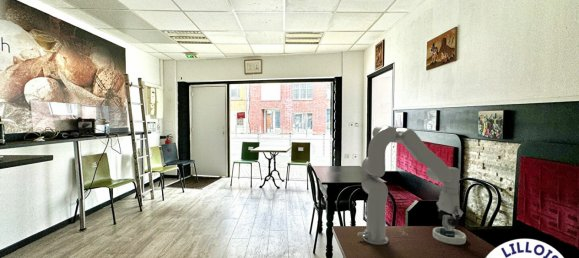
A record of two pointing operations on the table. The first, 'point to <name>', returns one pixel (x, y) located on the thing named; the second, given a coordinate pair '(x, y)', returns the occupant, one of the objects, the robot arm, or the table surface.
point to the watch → (447, 227)
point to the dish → (458, 240)
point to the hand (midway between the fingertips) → (448, 222)
